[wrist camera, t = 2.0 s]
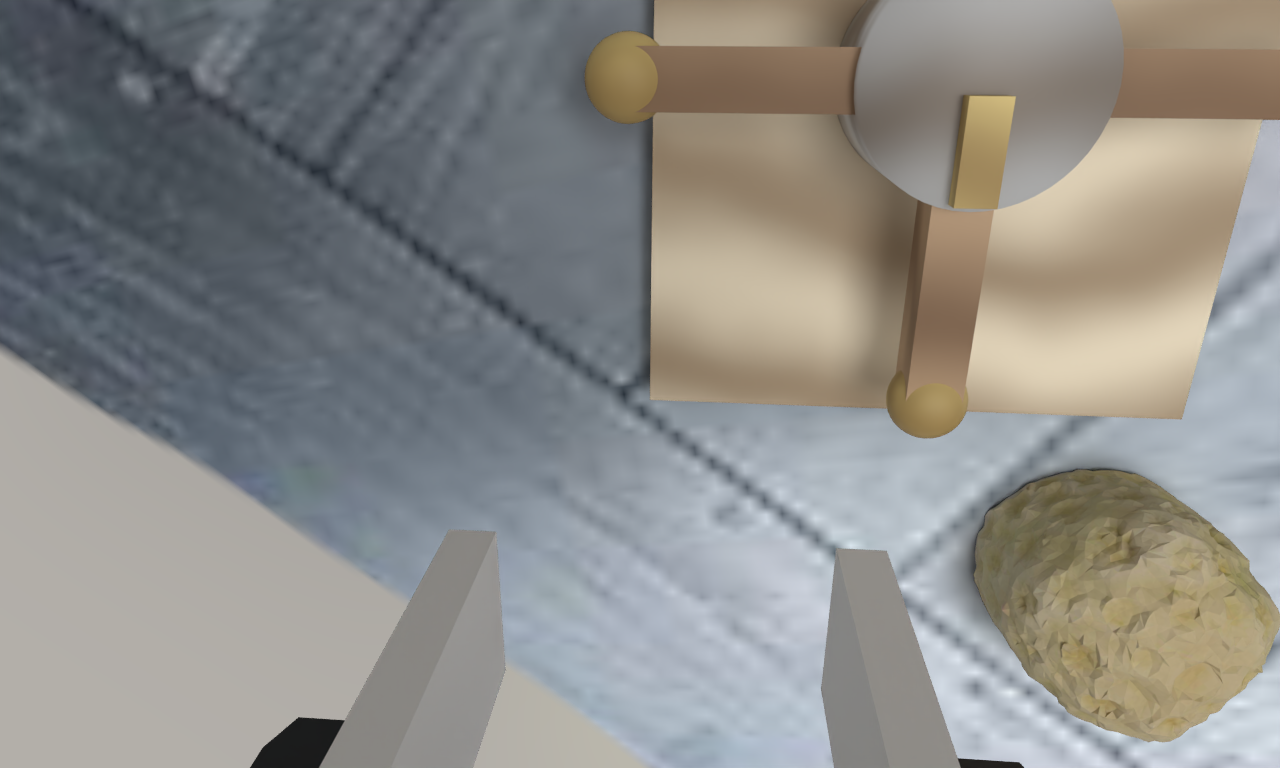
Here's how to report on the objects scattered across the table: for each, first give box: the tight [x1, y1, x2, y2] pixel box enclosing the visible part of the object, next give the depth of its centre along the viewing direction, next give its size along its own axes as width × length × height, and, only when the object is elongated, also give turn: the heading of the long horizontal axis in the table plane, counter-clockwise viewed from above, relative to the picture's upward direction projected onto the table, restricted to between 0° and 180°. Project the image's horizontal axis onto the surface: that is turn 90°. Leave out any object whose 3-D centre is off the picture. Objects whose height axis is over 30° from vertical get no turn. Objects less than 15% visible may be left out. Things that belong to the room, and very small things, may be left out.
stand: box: [650, 0, 1280, 419], centre depth 27 cm, size 28×20×3 cm
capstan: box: [585, 0, 1280, 438], centre depth 25 cm, size 23×23×6 cm
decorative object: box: [974, 469, 1280, 742], centre depth 33 cm, size 9×10×10 cm
